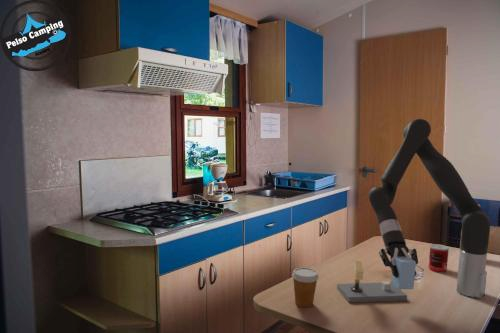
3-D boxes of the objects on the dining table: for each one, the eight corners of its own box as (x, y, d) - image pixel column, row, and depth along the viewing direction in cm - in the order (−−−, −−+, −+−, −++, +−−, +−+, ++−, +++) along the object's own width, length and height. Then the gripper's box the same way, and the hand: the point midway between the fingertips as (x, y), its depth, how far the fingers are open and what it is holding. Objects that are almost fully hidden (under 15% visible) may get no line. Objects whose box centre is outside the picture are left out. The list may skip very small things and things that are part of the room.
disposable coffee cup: (299, 295, 150) (301, 265, 148) (322, 303, 144) (323, 271, 142) (285, 303, 142) (287, 272, 141) (308, 312, 136) (310, 279, 135)
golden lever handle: (353, 286, 152) (354, 260, 151) (359, 287, 152) (361, 260, 151) (354, 299, 141) (356, 270, 140) (361, 300, 141) (363, 271, 140)
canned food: (442, 267, 185) (444, 244, 183) (449, 273, 177) (451, 249, 175) (425, 266, 185) (427, 243, 184) (431, 272, 177) (433, 248, 176)
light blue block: (405, 282, 144) (407, 256, 143) (413, 289, 138) (415, 261, 137) (390, 282, 143) (393, 256, 142) (398, 289, 137) (400, 262, 136)
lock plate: (391, 287, 160) (392, 276, 159) (406, 300, 148) (407, 289, 147) (337, 288, 157) (337, 277, 156) (348, 302, 145) (349, 290, 144)
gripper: (377, 229, 145) (390, 272, 134) (414, 229, 147) (429, 272, 136) (370, 238, 151) (382, 281, 140) (405, 238, 152) (419, 280, 142)
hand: (405, 276), depth 138 cm, fingers closed on light blue block, 5 cm apart
